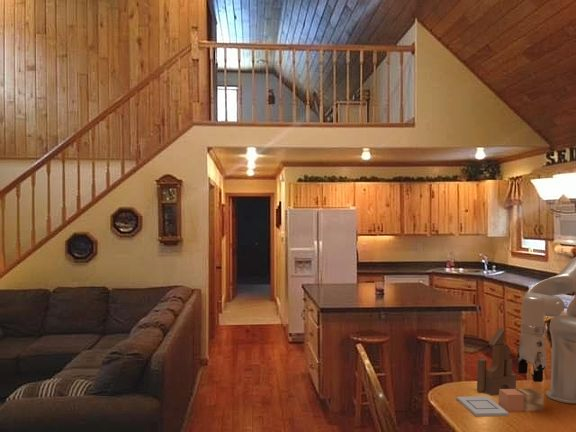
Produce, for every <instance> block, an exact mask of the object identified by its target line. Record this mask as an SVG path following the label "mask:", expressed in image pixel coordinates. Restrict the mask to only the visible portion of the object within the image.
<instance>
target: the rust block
mask: <svg viewBox="0 0 576 432" xmlns="http://www.w3.org/2000/svg"><path fill="white" fill-rule="evenodd" d="M523 401H524V395H523V394H522V393H520V392H519V390H517V389H502V388H500V389H499V392H498V405H499V406H500V407H502V408H503V409H504V410H506V411H507V412H524V409H523Z"/></svg>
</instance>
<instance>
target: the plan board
mask: <svg viewBox="0 0 576 432" xmlns="http://www.w3.org/2000/svg"><path fill="white" fill-rule="evenodd" d="M456 401H457V402H459V403H460V404H461V405H462V406H463V407H464V408H465V409H467V410H468V411H469V412H470V413H471V414H472V415H474V416H475V417H509V416H510V413H509V411H506V410H505V409H503V408H502V407H501V406H499V403H497V402H496V401H494V400H493V399H492V398H490V397H488V396H486V395H485V396H483V395H481V396H456Z"/></svg>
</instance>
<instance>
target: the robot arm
mask: <svg viewBox="0 0 576 432" xmlns="http://www.w3.org/2000/svg"><path fill="white" fill-rule="evenodd" d="M575 292H576V256H575V257H574V258H572V259H570V261H569V262H568V263H567V264H566V265H565V266H564V267H563V269H561V271H559V273H558V274H557V275H554V276H550V277H548V278H545V279H543V280H540V281H538V282H537V283H535V284H533V285H532V286H531V287H530V288H529V289H528V290H527V291H526V293H525V294H524V295H523V297H522V301H521V302H522V304H521V319H520V321H521V322H520V323H521V325H520V339H519V346H518V347H517V348H516V352H517V358H518V359H517V362H518V371H517V372H518V373H519V374H528V367H529V366H528V364H529V363H530V364H532V366H533V368H534V369H533V374H532V375H533V376H532V377H533V379H532V381H533V382H535V383H542V382H543V380H544V379H543V377H544V371H545V368H546V365H547V358H546V355H547V354H546V351H547V350H546V341H545V340H546V339H545V336H544V335H545V317H546V316H547V317H552V318H551V320H550V322H549V333H550V337H551V371H550V372H551V377H550V378H551V379H550V389H548V390H547V391H546V392H545V394H546V396H547V398H549V399H551V400H552V401H553V400H554V401H556V402H560V403H564V404H572V405H573V404H576V295H575V296H574V298H573V299H572V300H571V301H570V302H569V304H568V306H567V308H566V314H563V313H564V311H565V302H564V300H563V299H561V298H560V297H559V296H561V295H567V294H572V293H575Z"/></svg>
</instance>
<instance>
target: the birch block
mask: <svg viewBox="0 0 576 432" xmlns="http://www.w3.org/2000/svg"><path fill="white" fill-rule="evenodd" d="M518 391H519V392H520V393H522V394H523V395H524V401H523V410H525V411H526V412H544V399H545V398H544V397H545V396H544V395H545V394H543V393H542V392H540V391H538V389H535V388H518Z"/></svg>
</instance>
